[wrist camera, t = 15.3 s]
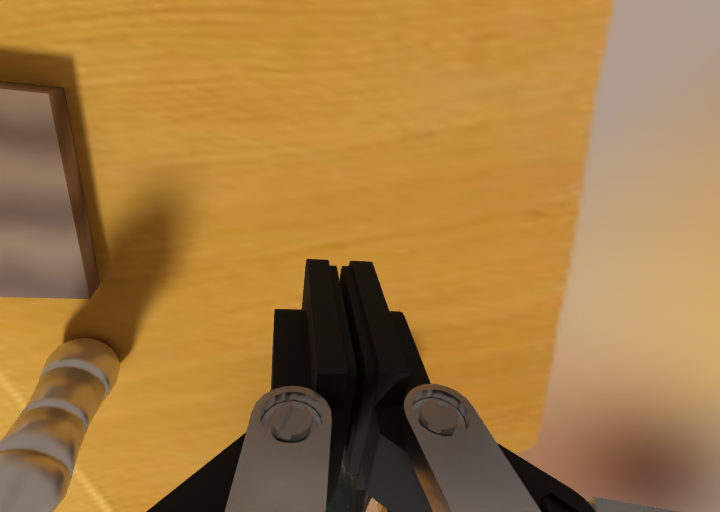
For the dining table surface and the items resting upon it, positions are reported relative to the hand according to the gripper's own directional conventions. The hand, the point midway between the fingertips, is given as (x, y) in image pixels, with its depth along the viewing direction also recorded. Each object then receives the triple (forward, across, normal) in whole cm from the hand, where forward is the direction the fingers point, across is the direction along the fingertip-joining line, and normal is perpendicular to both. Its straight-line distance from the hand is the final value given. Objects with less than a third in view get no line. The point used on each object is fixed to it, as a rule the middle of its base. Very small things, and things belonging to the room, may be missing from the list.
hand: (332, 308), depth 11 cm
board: (+29, +23, +10) cm, 38 cm away
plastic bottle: (+29, +20, +28) cm, 45 cm away
